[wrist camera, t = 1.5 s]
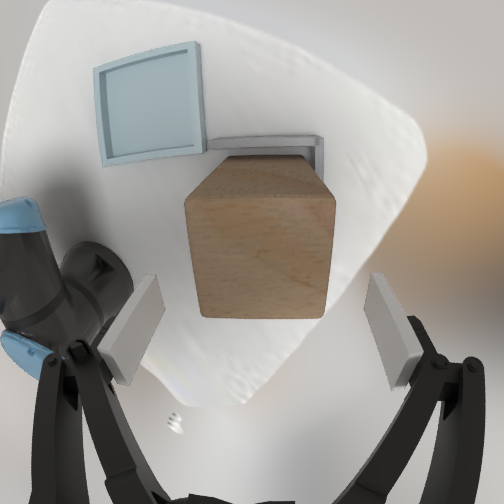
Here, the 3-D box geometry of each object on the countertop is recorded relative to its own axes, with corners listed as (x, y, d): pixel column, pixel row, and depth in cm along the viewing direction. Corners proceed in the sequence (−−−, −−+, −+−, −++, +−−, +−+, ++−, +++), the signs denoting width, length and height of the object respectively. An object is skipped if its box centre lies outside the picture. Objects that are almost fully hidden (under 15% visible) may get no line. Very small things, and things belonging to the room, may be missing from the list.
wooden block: (226, 155, 35) (181, 198, 18) (303, 154, 35) (338, 197, 17) (231, 226, 40) (199, 319, 22) (302, 225, 39) (324, 320, 21)
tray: (111, 163, 36) (102, 167, 34) (102, 69, 30) (93, 68, 27) (207, 150, 35) (202, 153, 33) (199, 45, 28) (195, 40, 26)
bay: (223, 242, 41) (218, 255, 38) (213, 139, 34) (206, 141, 31) (316, 241, 40) (320, 254, 37) (318, 135, 33) (323, 137, 30)
